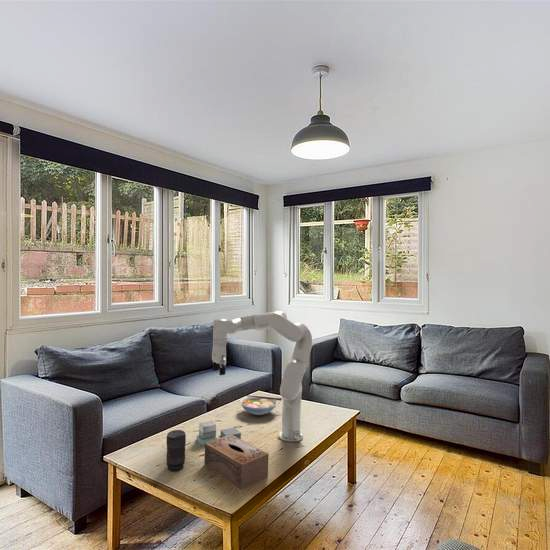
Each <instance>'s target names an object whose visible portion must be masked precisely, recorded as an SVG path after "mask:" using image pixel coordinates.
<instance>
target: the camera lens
mask: <svg viewBox="0 0 550 550" xmlns="http://www.w3.org/2000/svg"><path fill="white" fill-rule="evenodd" d="M186 438H187V435H186V431H184V430H183V429H182V430H181V429H175V430H171V431H168V433H167V435H166V465H167V469H168V471H171V472H178V471H181V470H183V468H184V465H185V463H186V441H187V440H186Z"/></svg>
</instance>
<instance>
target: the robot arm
mask: <svg viewBox="0 0 550 550" xmlns="http://www.w3.org/2000/svg"><path fill="white" fill-rule="evenodd" d="M212 326H213V328H212V330H213V331H212V332H213V333H212V348H211V349H212V350H211V361H212V371H213V372H214V371H219V376H224V375H226V367H227V363H228V361H227V344H228V343H227V342H228V341H227V340H228V335H230V334H231V335H234V334H237V333H239V332H242V331H243V332H244V331H248V330H256V331H263V330H269V329H272V330H273V331H275V332H276V333H278V334H279V335H280V336H282V337H283V338H285V339H286V340H288V341H290V342H292V343H293V342H294V343H295V346H294V347H293V351H292V355H291V359H290V361H289V362H288V363H287V365H286V366H285V369H284V373H283V376H282V380H281V384H280V387H279V394H280V397H281V398H282V413H281V414H282V417H281V419H282V420H281V421H282V423H281V424H282V425H281V431H280V432H279V433H278V438H279V439H280V440H282V441H284V442H290V443H291V442H292V443H295V442H299V441H302V440H303V439H304V438H303V437H304V435H303V433H302V431H301V413H302V412H301V411H302V410H301V408H302V393H303V384H302V382H303V378H304V375H305V373H306V371H307V367H308V362H309V358H310V354H311V351H312V346H313V337H312V333H311V331H310V329H309V328H308V327H307V326H306V325H305V324H304V323H302V322H295V323H293V322H292V321H291V320H289V319H288V317H287V314H286V313H285V312H284V311H281V310H276V311H269V312H265V313H264V312H263V313H257V314H253V315H248V316H241V317H236V318H235V317H234V318H232V319H229V320H227V319H226V318H215V319H213V325H212Z"/></svg>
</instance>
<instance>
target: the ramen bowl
mask: <svg viewBox="0 0 550 550" xmlns="http://www.w3.org/2000/svg"><path fill="white" fill-rule="evenodd" d="M244 396H245V397H244ZM278 401H283V398H282V397H271V396H268V395H259V394H257V395H246V394H243V398H241V399H240V401H239V404H240V405H241V406H242V408H243V410H244V411H245V412H247V413H249V414H251V415H254V416H263V415H266V414H269V413H270V412H272V411H273V410H274V409H275V408H276V406H277V404H278Z"/></svg>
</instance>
